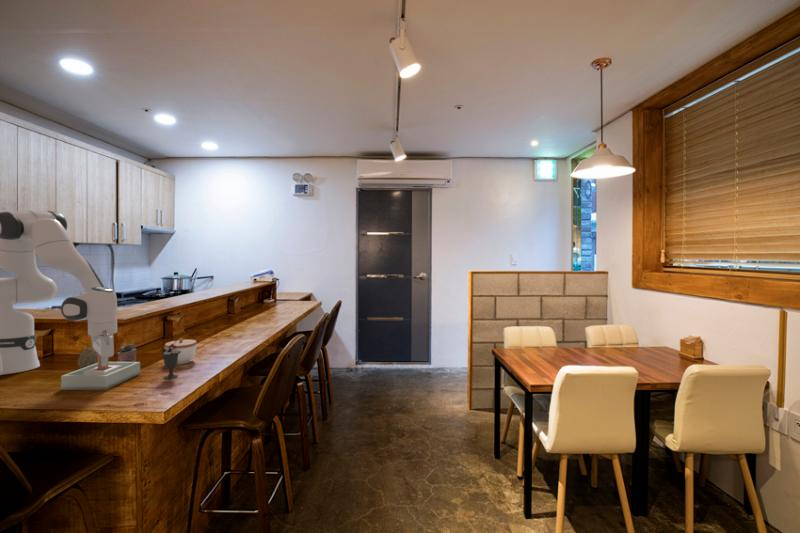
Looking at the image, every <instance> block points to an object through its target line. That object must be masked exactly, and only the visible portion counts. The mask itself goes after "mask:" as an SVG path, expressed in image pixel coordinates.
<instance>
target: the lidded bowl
mask: <svg viewBox="0 0 800 533" xmlns="http://www.w3.org/2000/svg"><path fill="white" fill-rule="evenodd" d="M171 344H174V346H177V347H176V348H177V349H178V350H179V351H180V353H179V355H178V360H177V365H183V364H184V365H185V364H187V363H190V362H191V360H192V359H193V358H194V357H195V356H196V352H197V344H198V342H197V340H196V339H183V338H182V337H181V338H179V339H177V341H176V340H173V341H172V340H171V341H169V342H166V343H164V348H165V349H166V348H167V347H168V346H171Z"/></svg>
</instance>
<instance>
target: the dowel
mask: <svg viewBox="0 0 800 533" xmlns="http://www.w3.org/2000/svg"><path fill="white" fill-rule="evenodd" d="M108 362H109V360H108V361H107V366H101V356H100V355H99V354H98V370H107V369H108Z"/></svg>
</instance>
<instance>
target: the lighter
mask: <svg viewBox="0 0 800 533" xmlns="http://www.w3.org/2000/svg"><path fill="white" fill-rule="evenodd" d="M135 346H136V344H135V343H131V344H126V345H125V344H124V345H123V346H121V347H119V349H120V351H119V352H116V355H117V362H137V348H135Z"/></svg>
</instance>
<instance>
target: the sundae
mask: <svg viewBox="0 0 800 533" xmlns="http://www.w3.org/2000/svg"><path fill="white" fill-rule="evenodd" d="M177 340H178V339H177ZM177 340H175V341H177ZM176 347H177V346H174V344H171V346H168V347H167V348H166V349H165V347H162V348H161V350H162V352H161V353H160V354H161V355H162V357H163V363H164V366H165V368H166V369H168V371H169V373H168V374H167V375H166V376H164V377H163V379H164V380H174V379H176V378H178V377H179V375H177V374H174V372H173V371H174V370H173V369H174V368H175V367H176V366H178V364H177V360H178V355H179V353H180V351H179V350H178V349H177V348H176Z"/></svg>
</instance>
